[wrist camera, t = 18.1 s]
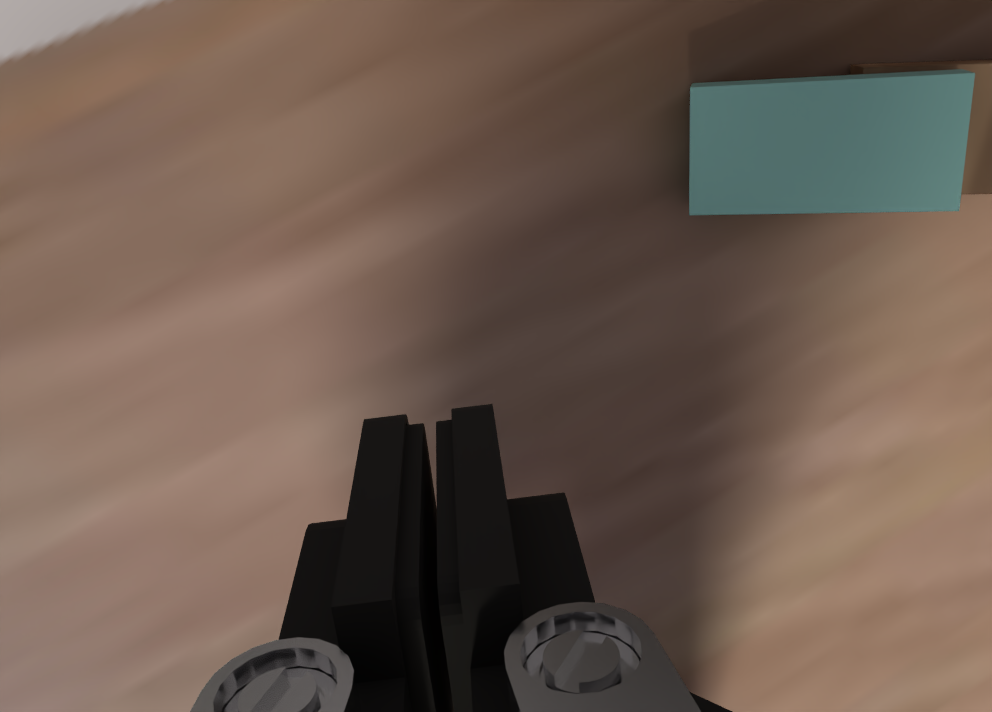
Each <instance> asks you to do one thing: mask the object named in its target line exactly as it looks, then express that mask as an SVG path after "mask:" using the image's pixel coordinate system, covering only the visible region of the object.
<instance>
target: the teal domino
mask: <svg viewBox="0 0 992 712" xmlns="http://www.w3.org/2000/svg"><path fill="white" fill-rule="evenodd" d="M974 79H975V73H973V72H970V71H967V70H964V69H955V70H935V71H916V72H897V73H878V74H859V75H839V76H820V77H801V78H782V79H762V80H743V81H724V82H705V83H692V85H691V87H690V174H689V215H737V214H801V213H864V212H928V211H959V208H960V199H961V190H962V182H963V173H964V165H965V156H966V147H967V139H968V130H969V122H970V113H971V104H972V96H973V87H974Z"/></svg>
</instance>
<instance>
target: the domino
mask: <svg viewBox="0 0 992 712" xmlns="http://www.w3.org/2000/svg"><path fill="white" fill-rule="evenodd" d="M955 69H964V70H967V71H970V72H973V73H975V79H974V87H973V96H972V104H971V113H970V122H969V130H968V139H967V147H966V156H965V165H964V173H963V182H962V190H961V194H992V60H965V61H936V62H907V63H879V64H851V70H850V75H859V74H878V73H897V72H916V71H935V70H955Z"/></svg>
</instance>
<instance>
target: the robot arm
mask: <svg viewBox="0 0 992 712" xmlns="http://www.w3.org/2000/svg"><path fill="white" fill-rule="evenodd" d="M451 412H452V420H447V421H438V422H436V466H437V509H436V502H435V495H434V488H433V481H432V474H431V467H430V460H429V453H428V446H427V439H426V433H425V427H424V424H423V423H422V424H413V425H409V423H408V419H407V416H406V415H397V416H388V417H380V418H371V419H364V422H363V427H362V433H361V439H360V444H359V450H358V456H357V461H356V467H355V473H354V479H353V484H352V490H351V496H350V501H349V507H348V513H347V519H344V520H336V521H328V522H319V523H312V524H309V525H308V527H307V530H306V532H305V536H304V540H303V544H302V548H301V552H300V556H299V560H298V564H297V568H296V572H295V576H294V580H293V584H292V588H291V592H290V596H289V600H288V604H287V608H286V612H285V616H284V620H283V624H282V628H281V632H280V636H279V640H275V641H272V642H269V643H266V644H263V645H260V646H257V647H254V648H252V649H250V650H248V651H246V652H244V653H242V654H240V655H239V656H237V657H235V658H233V659H231V660H230V661H229V662H228V663H227V664H225V665H224V666H223V667H222V668H220V669H219V670H218V671H217V672H216V673H214V675H213V676H212V677H211V679H210V680H209V681H208V683H207V684H206V685H205V687H204V688H203V689H202V691H201V692H200V694H199V696H198V698H197V700H196V702H195V703H194V705H193V707H192V709H191V711H190V712H732V711H730V710H727V709H725V708H723V707H721V706H719V705H717V704H714V703H712V702H710V701H708V700H706V699H704V698H701V697H699V696H697V695H695V694H693V693H691V692H689V691H688V689H687V687H686V686H685V684H684V682H683V681H682V679H681V677H680V676H679V674H678V672H677V671H676V669H675V668H674V666H673V664H672V663H671V661H670V659H669V658H668V656H667V654H666V653H665V651H664V649H663V648H662V646H661V644H660V643H659V641H658V639H657V638H656V636H655V635H654V633H653V632H652V631H651V630H650V628H649V627H648V626H647V625H646V624H645V623H644V622H643V621H642V620H641V619H640V618H638V617H636V616H635V615H633V614H631V613H629V612H628V611H626V610H624V609H621V608H617V607H614V606H610V605H607V604H603V603H595V600H594V596H593V593H592V589H591V585H590V582H589V578H588V575H587V571H586V567H585V564H584V560H583V556H582V553H581V549H580V546H579V542H578V538H577V535H576V531H575V527H574V524H573V520H572V517H571V513H570V509H569V506H568V502H567V499H566V496H565V493H556V494H548V495H540V496H532V497H524V498H515V499H507V497H506V491H505V484H504V478H503V471H502V464H501V458H500V451H499V445H498V438H497V431H496V425H495V418H494V412H493V405H492V404H488V405H480V406H472V407H463V408H455V409H452V410H451Z"/></svg>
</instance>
